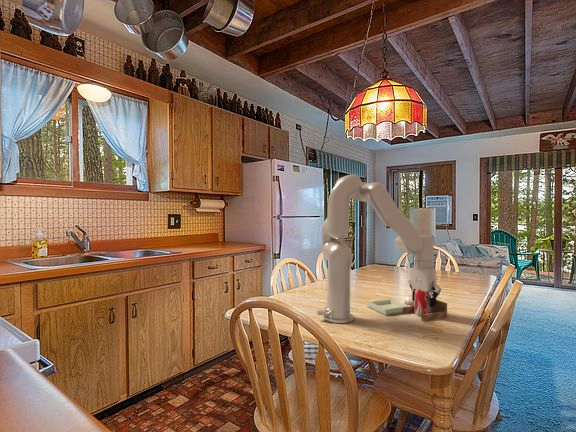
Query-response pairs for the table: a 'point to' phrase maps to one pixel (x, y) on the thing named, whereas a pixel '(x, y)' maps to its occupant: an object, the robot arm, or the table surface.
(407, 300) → the cream rounded knob
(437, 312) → the cradle
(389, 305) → the tray
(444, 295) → the table surface
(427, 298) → the soda can
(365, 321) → the table surface
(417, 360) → the table surface
